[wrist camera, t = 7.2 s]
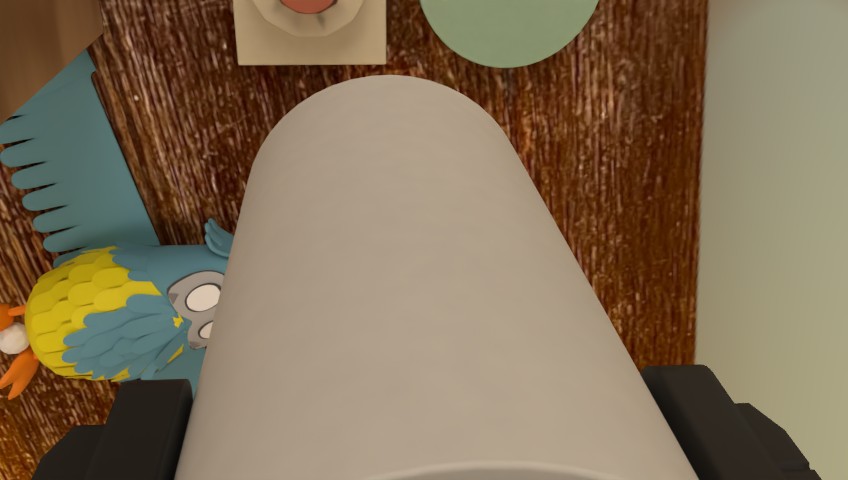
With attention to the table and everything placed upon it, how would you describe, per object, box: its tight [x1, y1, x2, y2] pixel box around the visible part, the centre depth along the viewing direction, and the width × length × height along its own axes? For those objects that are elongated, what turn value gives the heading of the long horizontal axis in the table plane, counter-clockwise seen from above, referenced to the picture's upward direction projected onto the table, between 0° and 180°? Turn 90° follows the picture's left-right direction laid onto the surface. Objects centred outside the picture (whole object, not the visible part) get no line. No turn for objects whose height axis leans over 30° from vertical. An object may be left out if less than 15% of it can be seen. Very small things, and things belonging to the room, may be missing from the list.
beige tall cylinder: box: [174, 75, 699, 480], centre depth 11 cm, size 6×6×11 cm
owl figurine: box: [0, 49, 234, 400], centre depth 45 cm, size 28×9×15 cm
